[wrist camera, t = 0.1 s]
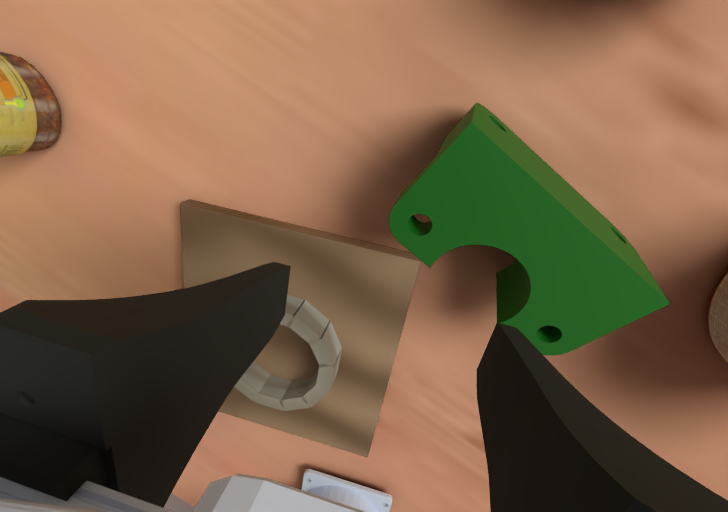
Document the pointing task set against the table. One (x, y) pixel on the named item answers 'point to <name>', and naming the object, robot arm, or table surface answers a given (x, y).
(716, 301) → the planter
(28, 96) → the sauce bottle
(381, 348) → the collar board
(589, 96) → the table surface
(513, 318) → the clamp
